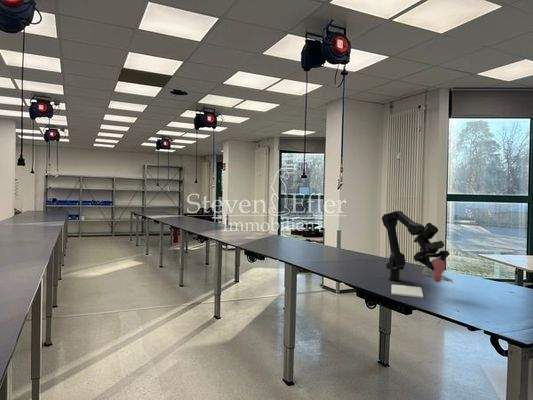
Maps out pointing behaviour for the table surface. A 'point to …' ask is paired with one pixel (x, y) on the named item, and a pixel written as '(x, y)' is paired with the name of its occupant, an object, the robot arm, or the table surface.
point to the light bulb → (437, 269)
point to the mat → (407, 291)
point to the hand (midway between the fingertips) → (439, 269)
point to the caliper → (432, 273)
